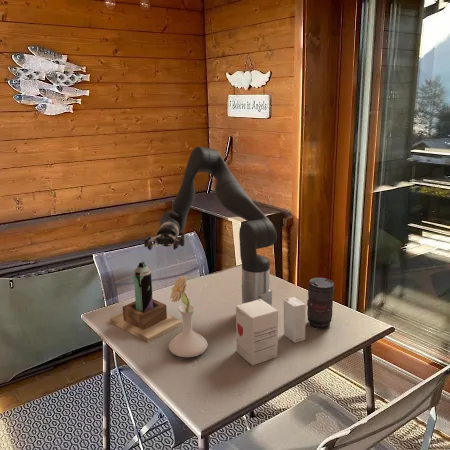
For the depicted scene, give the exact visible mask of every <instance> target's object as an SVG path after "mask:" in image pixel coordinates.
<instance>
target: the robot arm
mask: <svg viewBox="0 0 450 450" xmlns="http://www.w3.org/2000/svg"><path fill="white" fill-rule="evenodd" d="M198 172H199V173H206V174H207V173H208V174H211V175H212V176H213V177H214V179H215V181H216V184H215V187H214V189H215V190H214V191H215V196H216V197H217V200H219V202H220V204H221V205H222V206H223V208H225V209H226V211H228V212H230V213H232V214H234V215H235V216H237V217H239V218H240V219H243V220H245V221H244V222H242V223H241V225H239V226H240V227H239V231H238V235H239V236H238V237H239V238H238V240H239V251H240V252H239V254H240V255H239V257H240V261H241V304H244V303H248V302H252V301H255V300H259V299H262V300H263V301H265V302H266V303H268V304H270V305H271V306H272V307H273V290H272V289H270V287H271V285H270V284H271V283H270V282H271V280H270V276H271V275H270V274H271V261H270V259H269V258H268V257H267V256H265V255H261V254H258V252H257V250H259V249H264V248H267V247H271V246H273V245H274V244H275V243H276V241H277V239H278V237H277V235H278V233H277V230H276V227H275V226H274V224H273V222H272V221H271V220H270V219H269V217H267V216H266V214H265V213H264V212H263V211H262V210H261V209H260V208H259V207H258V206H257V205H256V203H254V201H253V200H252V199H251V197H250V196H249V195H248V194H247V192H246V190H245V189H244V188H243V186H242V185H241V184H240V182H239V181H238V180H237V179H236V177H235V176H234V174H233V173H232V172H231V170H230V169H229V167H228V165H227V163H226V162H225V160H224V158H223V156H222V154H221V153H220V152H219V151H218V150H217V149H214V148H211V147H210V148H208V147H204V146H195V147H194V148H193V149H192V151H191V153H190V155H189V158H188V161H187V165H186V167H185V171H184V174H183V178H182V181H181V184H180V187H179V190H178V192H177V195H176V196H175V198H174V200H173V201H172V204H171V208H172V210H173V211H174V212H173V211H170V210H169V211H168V210H167V211H165V212H163V213H162V214H161V217H160V221H159V224H160V226H159V229H158V231H157V233H156V235H154V236H152V237H151V235H146V237H145V238H144V239H143V245H144V246H143V247H145V248H147V250H149V251H152V250H153V247H156V248H157V247H160V246H163V247H167V248H168V247H173V250H177V249H178V248H179V246H181V247H184V246H185V243H186V241H185V235H184V234H181V233H182V232H184V230H185V228H186V225H187V219H188V214H189V211H190V210H191V207H192V205H193V204H194V201H195V198H196V188H195V177H196V176H197V174H198ZM179 234H181V235H180V236H179Z"/></svg>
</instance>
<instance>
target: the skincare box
mask: <svg viewBox="0 0 450 450" xmlns="http://www.w3.org/2000/svg"><path fill="white" fill-rule="evenodd" d="M283 335H284V336H285V337H287V338H288V339H289V340H290V341H292V343H294V344H295V343H299V341H300V342H302V341H305V340H306V304H305V303H304V302H303V301H301V300H300V299H298V298H296V297H295V296H293V297H288V298H286V299H285V298H284V299H283Z"/></svg>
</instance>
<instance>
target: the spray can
mask: <svg viewBox="0 0 450 450" xmlns="http://www.w3.org/2000/svg"><path fill="white" fill-rule="evenodd" d="M133 283H134V298H135V301H136V310H138V311H140V312H142V313H144V312H146V311H148V310H150V309H152V308H153V299H154V297H153V285H152V284H153V282H152V270H151V267H149V266H147V265H146V263H145V261H140V262H139V263H138V265H137V266H136V267H135V268H134V269H133Z"/></svg>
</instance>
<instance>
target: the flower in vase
mask: <svg viewBox="0 0 450 450" xmlns="http://www.w3.org/2000/svg"><path fill="white" fill-rule="evenodd" d="M187 283H188V281H187V277H186V276H185V275H184V276H183V275H179V277H178V278H176V279H175V282H174V286H172V287H171V291H172V292H171V293H170V299H171V302H173V303H177V302H179V301H181V302H182V303H183V304H182V305H180V306H178V308H177V310H178V312H179V313H180V314H181V317H182V324H183V328H182V331H181V332H180V333H178V334H177V335H175V336H174V337H173V338H172V339H171V340H170V341H169V344H168V350H169V351H170V352H171V353H172V355H174V356H176V357H180V358H193V357H194V358H195V357H197V356H199V355H201V354H203V353H205V351H206V350H207V348H208V342H207V339H206V338H205V337H203V336H202V335H201V334H200V333H198V332H195V331H194V330H193V328H192V318H193V313H194V312H195V310H196V306H195V305H193V304H191V300H190V298H188V295H187V294H186V292H185V291H186V289H187V286H188V284H187Z"/></svg>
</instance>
